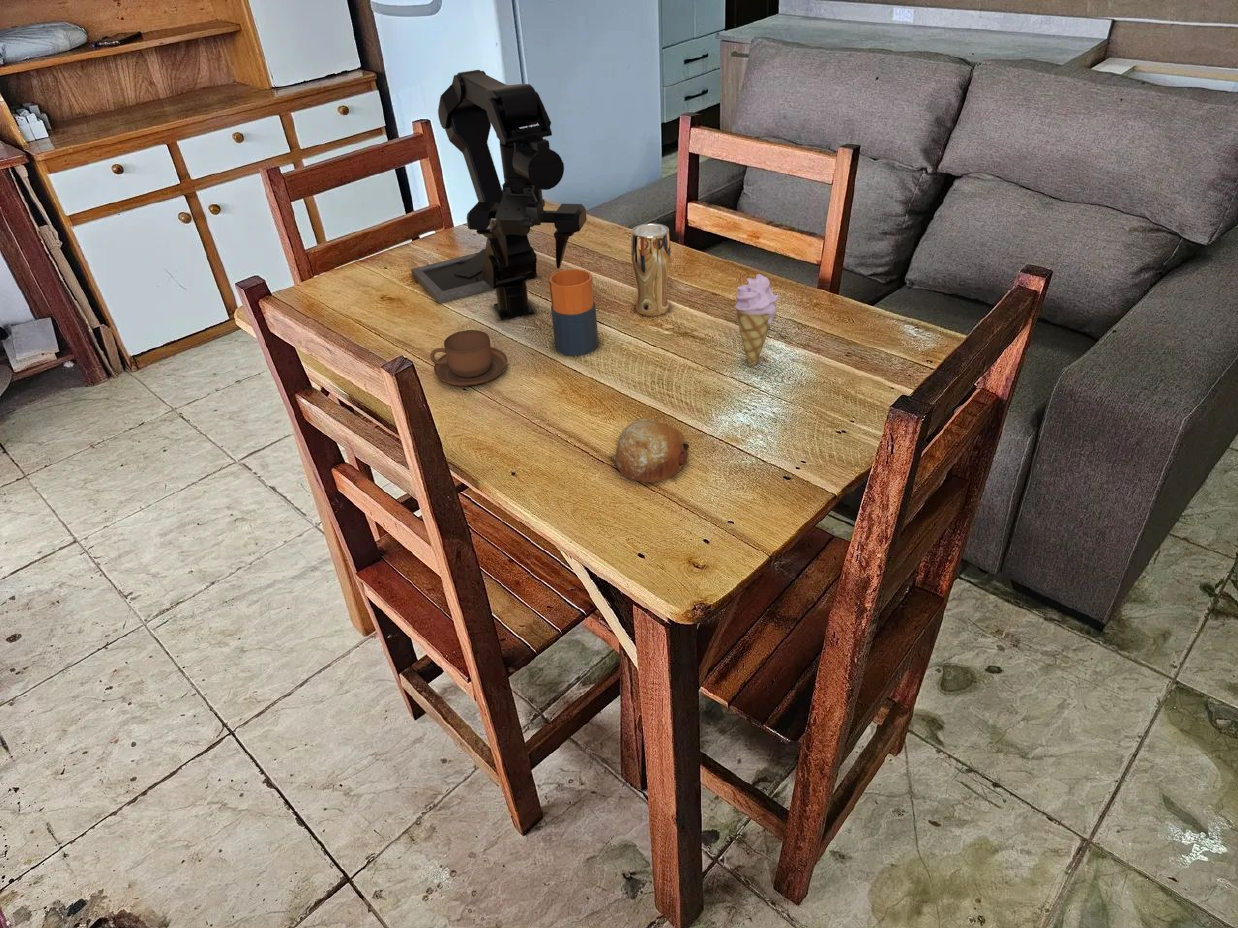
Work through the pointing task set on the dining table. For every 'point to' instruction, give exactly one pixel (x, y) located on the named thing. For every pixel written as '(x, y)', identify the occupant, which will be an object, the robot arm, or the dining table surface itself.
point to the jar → (575, 332)
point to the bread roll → (650, 451)
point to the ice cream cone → (755, 314)
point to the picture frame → (453, 277)
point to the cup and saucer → (468, 359)
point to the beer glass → (651, 267)
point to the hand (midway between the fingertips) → (532, 266)
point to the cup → (571, 291)
